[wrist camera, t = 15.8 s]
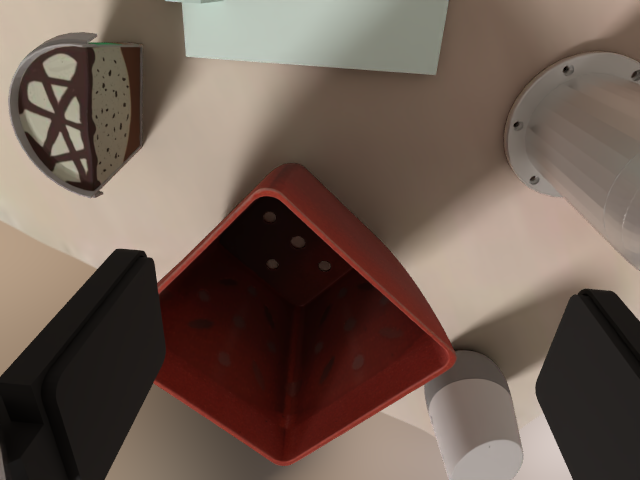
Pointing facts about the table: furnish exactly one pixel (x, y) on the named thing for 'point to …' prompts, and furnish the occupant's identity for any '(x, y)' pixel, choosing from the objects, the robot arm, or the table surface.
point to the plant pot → (294, 322)
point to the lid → (319, 32)
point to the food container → (79, 109)
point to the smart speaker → (474, 420)
